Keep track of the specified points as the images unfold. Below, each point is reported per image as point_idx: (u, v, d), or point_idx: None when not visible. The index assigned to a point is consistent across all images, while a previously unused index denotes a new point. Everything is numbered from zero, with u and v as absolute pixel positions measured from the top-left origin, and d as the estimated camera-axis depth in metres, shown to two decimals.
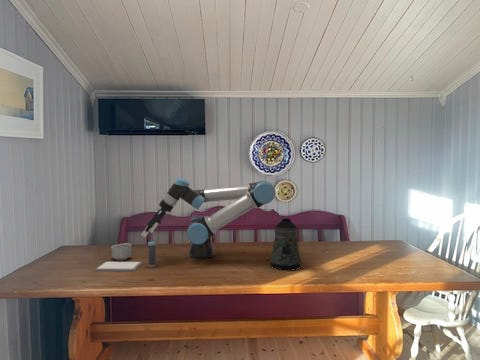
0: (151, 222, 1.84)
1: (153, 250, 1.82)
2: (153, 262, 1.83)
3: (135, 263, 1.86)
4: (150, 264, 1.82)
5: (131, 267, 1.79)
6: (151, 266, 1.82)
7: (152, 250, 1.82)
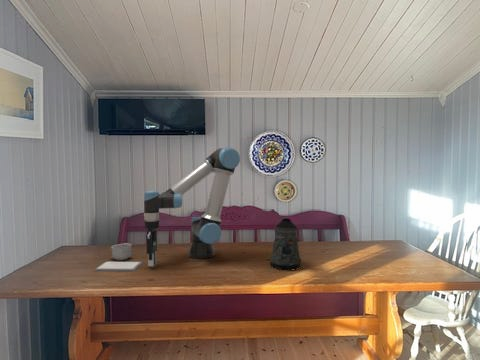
0: (148, 249, 1.78)
1: (153, 250, 1.82)
2: None
3: (135, 263, 1.86)
4: None
5: (131, 267, 1.79)
6: (151, 266, 1.82)
7: None
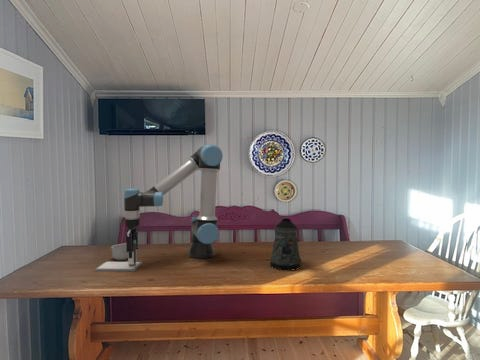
0: (128, 247, 1.77)
1: (133, 248, 1.81)
2: None
3: None
4: None
5: (131, 267, 1.79)
6: (131, 264, 1.81)
7: None
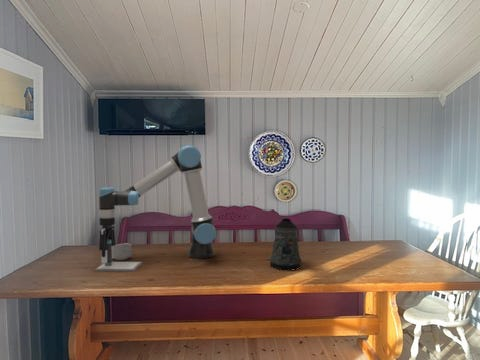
0: (101, 245, 1.75)
1: (109, 248, 1.82)
2: (109, 260, 1.82)
3: (135, 263, 1.86)
4: None
5: (131, 267, 1.79)
6: (107, 264, 1.82)
7: (107, 248, 1.81)
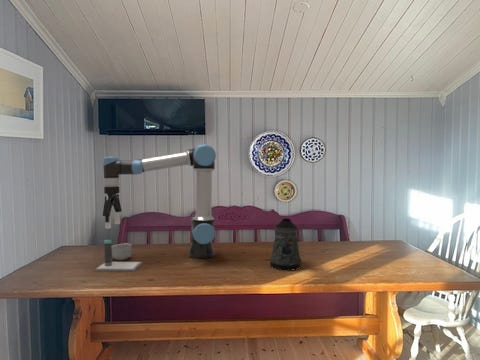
0: (105, 210, 1.75)
1: (109, 248, 1.82)
2: (109, 260, 1.82)
3: (135, 263, 1.86)
4: (106, 262, 1.82)
5: (131, 267, 1.79)
6: (107, 264, 1.82)
7: (107, 248, 1.81)
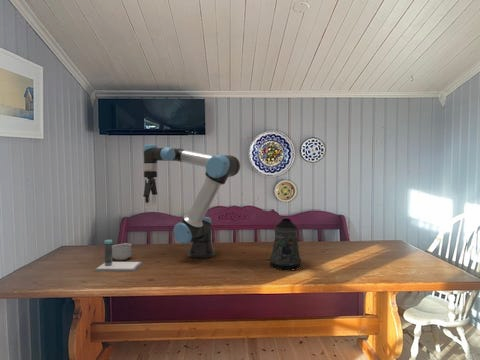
0: (145, 192, 1.97)
1: (109, 248, 1.82)
2: (109, 260, 1.82)
3: (135, 263, 1.86)
4: (106, 262, 1.82)
5: (131, 267, 1.79)
6: (107, 264, 1.82)
7: (108, 248, 1.81)
